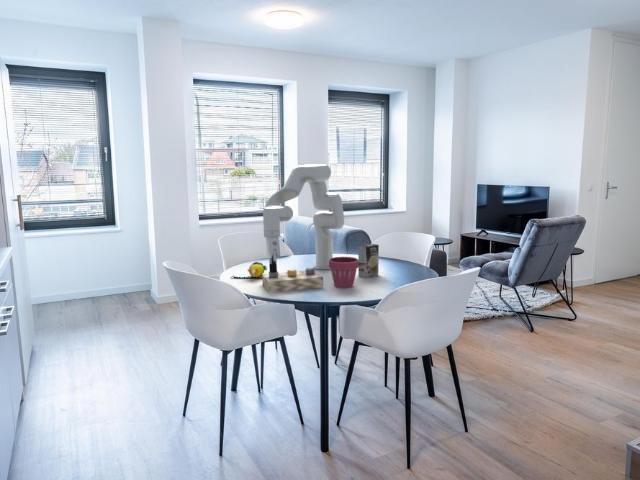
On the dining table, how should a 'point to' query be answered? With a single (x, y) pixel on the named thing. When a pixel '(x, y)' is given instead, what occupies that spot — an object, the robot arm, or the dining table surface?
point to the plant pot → (343, 271)
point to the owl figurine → (256, 270)
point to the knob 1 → (273, 275)
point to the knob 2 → (310, 271)
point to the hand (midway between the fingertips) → (273, 272)
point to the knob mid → (292, 273)
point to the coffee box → (368, 260)
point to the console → (292, 281)
